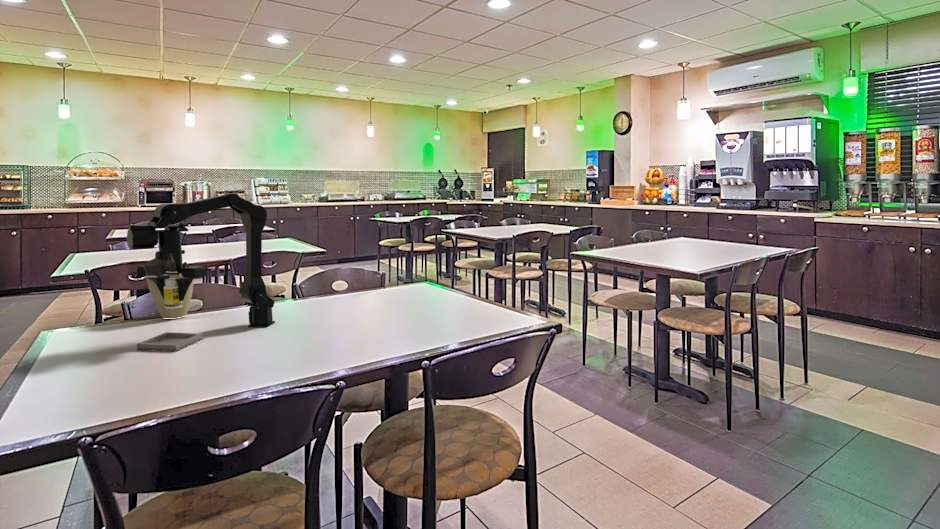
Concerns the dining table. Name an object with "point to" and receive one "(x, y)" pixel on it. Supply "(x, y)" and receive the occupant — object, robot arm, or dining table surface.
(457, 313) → the dining table surface
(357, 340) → the dining table surface
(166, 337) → the tray
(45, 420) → the dining table surface
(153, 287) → the plant pot
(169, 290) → the supplement bottle
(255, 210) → the robot arm
